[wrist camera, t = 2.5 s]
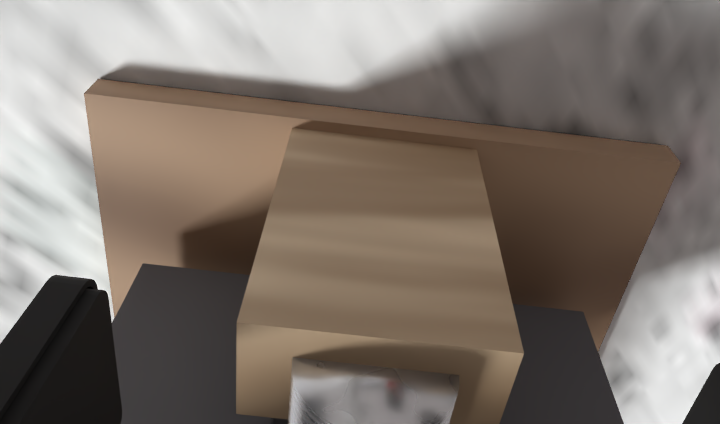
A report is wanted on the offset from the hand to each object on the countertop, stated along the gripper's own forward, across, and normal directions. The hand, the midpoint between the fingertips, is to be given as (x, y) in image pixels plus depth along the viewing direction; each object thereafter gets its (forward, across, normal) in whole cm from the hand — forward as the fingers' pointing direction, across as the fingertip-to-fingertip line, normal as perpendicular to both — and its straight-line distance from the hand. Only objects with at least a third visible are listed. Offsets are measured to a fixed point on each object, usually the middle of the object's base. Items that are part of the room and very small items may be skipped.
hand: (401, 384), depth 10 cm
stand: (+10, 0, +11) cm, 15 cm away
